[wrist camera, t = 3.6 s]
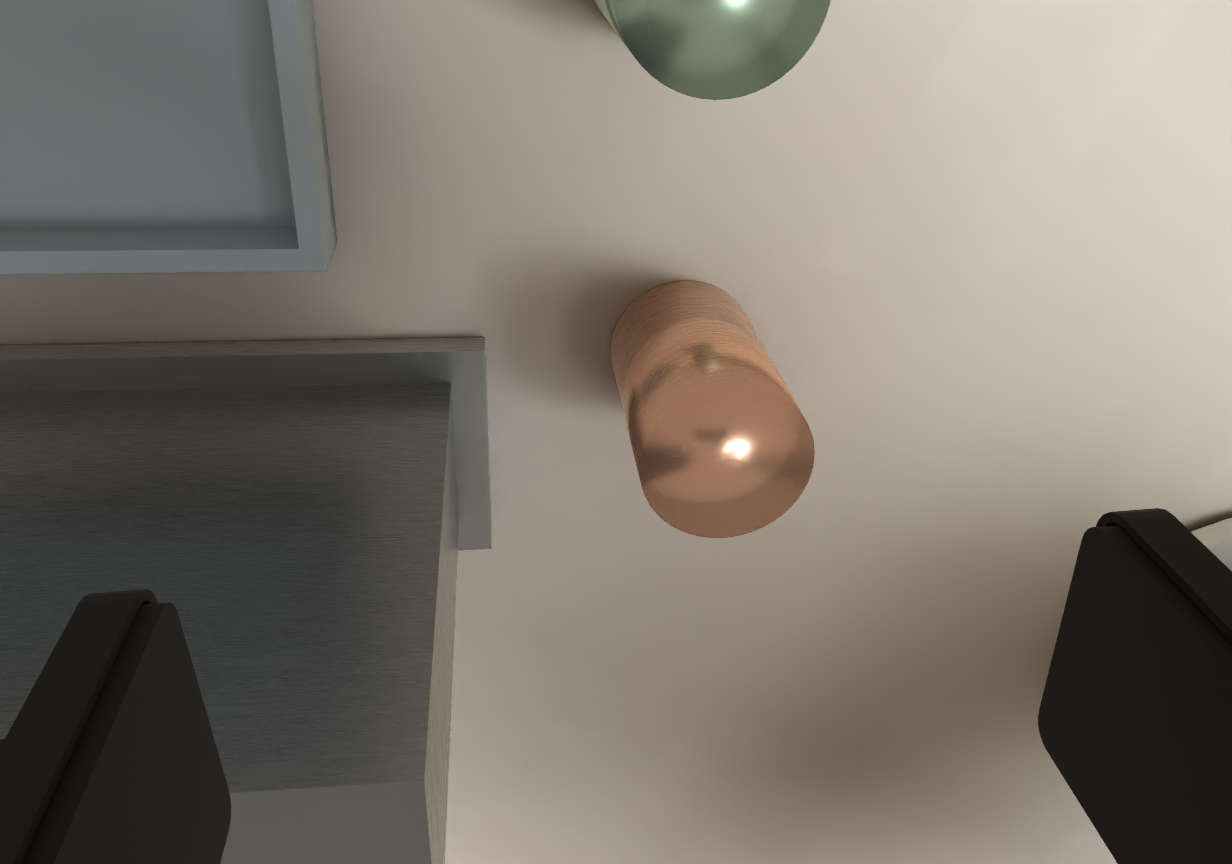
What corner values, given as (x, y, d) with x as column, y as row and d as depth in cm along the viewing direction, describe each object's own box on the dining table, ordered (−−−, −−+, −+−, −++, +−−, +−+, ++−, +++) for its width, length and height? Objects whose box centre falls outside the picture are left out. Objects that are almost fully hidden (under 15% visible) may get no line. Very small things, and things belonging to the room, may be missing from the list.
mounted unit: (484, 337, 31) (482, 733, 17) (491, 531, 34) (494, 993, 20) (-89, 346, 29) (-617, 798, 15) (-21, 550, 32) (-403, 1071, 18)
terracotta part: (758, 279, 31) (824, 383, 25) (745, 409, 33) (803, 534, 27) (612, 281, 30) (643, 387, 24) (608, 413, 32) (636, 541, 26)
